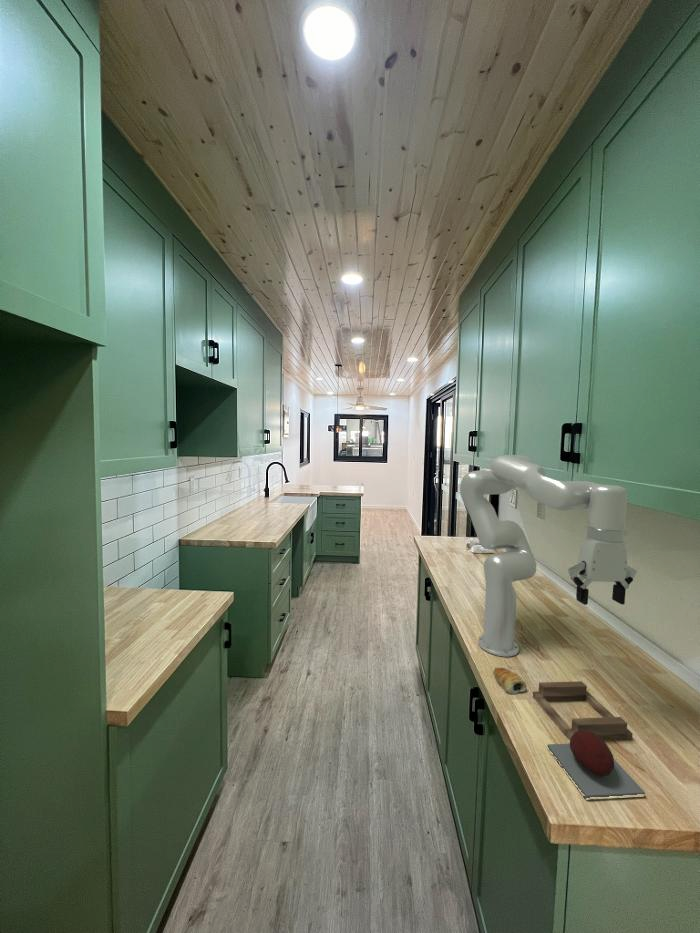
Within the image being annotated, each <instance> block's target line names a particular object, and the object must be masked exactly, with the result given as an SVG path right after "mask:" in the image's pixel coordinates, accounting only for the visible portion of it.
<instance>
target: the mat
mask: <svg viewBox="0 0 700 933" xmlns="http://www.w3.org/2000/svg"><path fill="white" fill-rule="evenodd" d="M547 747H548V748H549V750H550V751H551V752H552V753H553V755H554V756H555V757H556V758H557V760H558V761H559V762H560V764H561V765H562V767H563V768H564V769H565V771H566V772H567V773H568V775H569V776H570V777H571V778H572V780H573V781H574V782H575V784H576V785H577V786H578V788H579V789H580V790H581V792H582V793H583V794H584V795H585V797H586V798H590V797H609V796H623V795H637V794H645V795H646V791H644V789H643V788H642V787H641V786H640V785H639V784H638V783H637V781H636V780H634V778H632V777H631V775H630V774H629V773H628V772H627V771H626V770H625V769H624V768H623V767H622V766H621V764H619V763H618V762H617V760H616V759H615V758H614V769H613V770H612V772H611V773H610V774H609V775H608V776H602V777H601V776H598V775H595V774H593V773H591V772H590V771H588V770H587V769H586V768H585V767H584V766H583V765H582V764H581V763H580V762H579V761H578V760H577V759H576V757H575V756H574V755H573V753H572V751H571V748H570V742H569V743H553V744H552V743H550V744H549V743H548V744H547ZM549 750H548V751H549ZM550 751H549V752H550Z"/></svg>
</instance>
